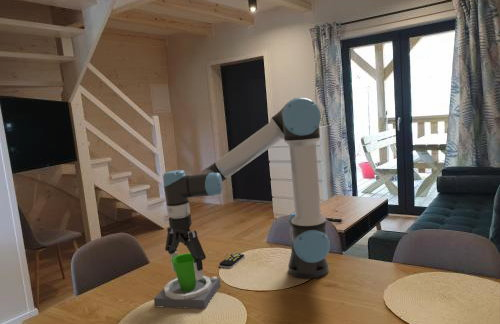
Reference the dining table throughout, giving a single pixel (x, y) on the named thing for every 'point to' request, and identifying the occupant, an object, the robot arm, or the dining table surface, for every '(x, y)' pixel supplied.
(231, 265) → the remote control
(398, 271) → the dining table surface
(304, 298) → the dining table surface
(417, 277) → the dining table surface
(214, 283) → the square coaster tray
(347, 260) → the dining table surface
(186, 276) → the cup
